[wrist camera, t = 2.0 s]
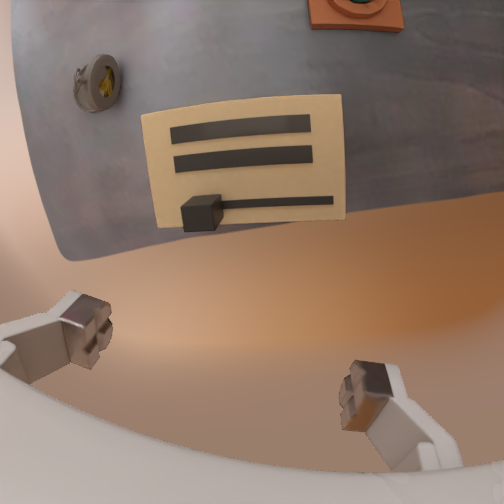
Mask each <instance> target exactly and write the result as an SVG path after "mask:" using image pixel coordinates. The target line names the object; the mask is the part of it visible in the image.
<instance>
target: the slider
mask: <svg viewBox="0 0 504 504" xmlns="http://www.w3.org/2000/svg"><path fill="white" fill-rule="evenodd" d="M180 209H181V216H182V222H183V228H184V232H200V231H215V230H216V228H217V227H218V225H219V224H220V222H221V221H222V219H223V218H224V214H223V206H222V197H221V194H214V195H200V196H193V197H191V198H190V199H189V200H188V201H187V202H185V203H184V204H183V205H182V206H181V207H180Z"/></svg>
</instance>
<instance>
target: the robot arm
mask: <svg viewBox="0 0 504 504" xmlns="http://www.w3.org/2000/svg"><path fill="white" fill-rule="evenodd" d="M110 314H111V305H110V304H109V303H108V302H105V301H102V300H99V299H97V298H94V297H91V296H88V295H85V294H82V293H79V292H77V291H69V292H68V293H67V294H66V295H65V296H64V297H63V298H62V299H61V300H60V301H59V302H57V303H56V304H55V305H54V306H53V307H52V308H51V309H50V310H49V311H48V312H47V313H46V314H45V313H39V314H35V315H32V316H29V317H25V318H22V319H18V320H15V321H11V322H8V323H5V324H1V325H0V504H504V460H499V461H494V462H489V463H484V464H478V465H472V466H465V467H464V466H463V462H462V459H461V456H460V453H459V450H458V446H457V443H456V440H455V439H454V438H453V437H452V436H451V435H450V434H449V433H447V431H445V430H444V429H443V428H442V427H441V426H440V425H439V424H438V423H437V422H436V421H435V420H434V419H433V418H432V417H431V416H430V415H429V414H427V413H426V412H425V411H424V410H423V409H422V408H421V407H420V406H419V405H418V404H417V403H416V402H415V401H414V400H413V399H409V398H408V395H407V392H406V389H405V386H404V383H403V380H402V377H401V374H400V371H399V367H398V366H397V365H396V364H386V363H375V362H368V361H360V360H355V361H354V362H353V363H352V365H351V367H350V375H348V376H347V377H345V378H344V380H343V382H342V385H341V388H340V392H339V404H340V405H341V406H342V408H343V411H342V413H341V414H340V415H341V425H342V430H348V431H358V432H366V433H365V434H366V436H367V437H368V438H369V440H370V441H371V443H372V444H373V445H374V447H375V448H376V450H377V451H378V453H379V454H380V455H381V457H382V458H383V460H384V461H385V463H386V464H387V466H388V467H389V468H390V470H391V472H388V473H364V472H336V471H322V470H309V469H300V468H291V467H283V466H276V465H269V464H262V463H256V462H251V461H245V460H240V459H235V458H230V457H225V456H220V455H216V454H211V453H207V452H202V451H199V450H195V449H191V448H188V447H184V446H180V445H176V444H173V443H169V442H166V441H163V440H160V439H156V438H153V437H150V436H147V435H144V434H141V433H138V432H135V431H133V430H130V429H127V428H124V427H122V426H119V425H116V424H114V423H111V422H108V421H106V420H103V419H101V418H98V417H96V416H93V415H91V414H89V413H86V412H84V411H82V410H79V409H77V408H75V407H73V406H70V405H69V404H66V403H64V402H62V401H60V400H58V399H56V398H54V397H52V396H50V395H48V394H46V393H44V392H42V391H40V390H38V389H36V388H34V387H33V386H31V385H30V384H31V383H33V382H34V381H36V380H38V379H40V378H42V377H44V376H46V375H48V374H50V373H52V372H54V371H56V370H58V369H59V368H62V367H63V366H65V365H67V364H69V363H70V362H71V363H74V364H77V365H79V366H82V367H84V368H87V369H90V370H91V369H92V367H93V366H94V365H95V363H96V362H97V360H98V358H99V357H100V356H99V351H102V350H104V349H106V347H107V346H108V344H109V343H110V340H111V337H112V331H113V327H112V323H111V321H110V320H109V318H108V317H109V316H110Z"/></svg>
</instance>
